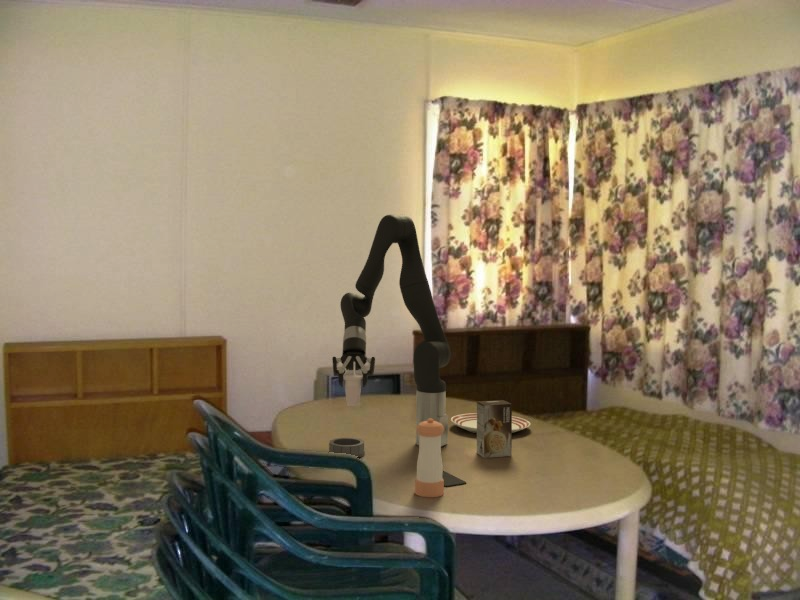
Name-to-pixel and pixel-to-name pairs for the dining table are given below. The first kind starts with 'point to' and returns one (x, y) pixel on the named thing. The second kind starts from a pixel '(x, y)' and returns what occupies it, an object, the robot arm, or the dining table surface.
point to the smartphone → (451, 480)
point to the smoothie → (353, 388)
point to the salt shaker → (429, 460)
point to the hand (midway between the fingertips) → (352, 385)
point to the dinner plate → (470, 422)
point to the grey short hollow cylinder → (347, 446)
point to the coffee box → (494, 428)
